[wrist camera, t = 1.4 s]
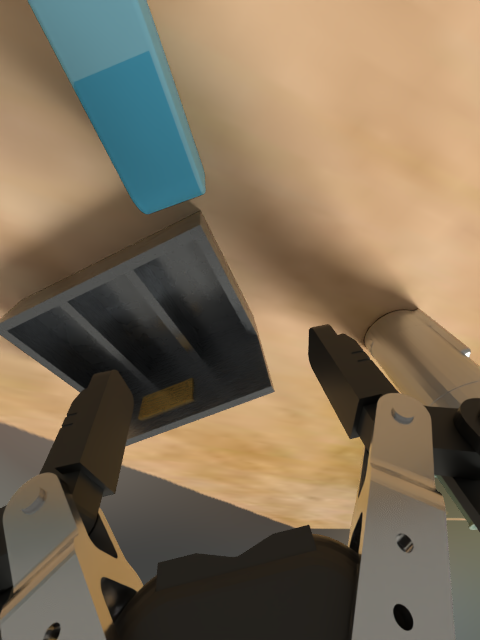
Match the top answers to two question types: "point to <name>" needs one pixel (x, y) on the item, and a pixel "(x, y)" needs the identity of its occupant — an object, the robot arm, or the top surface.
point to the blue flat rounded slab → (127, 95)
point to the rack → (151, 329)
